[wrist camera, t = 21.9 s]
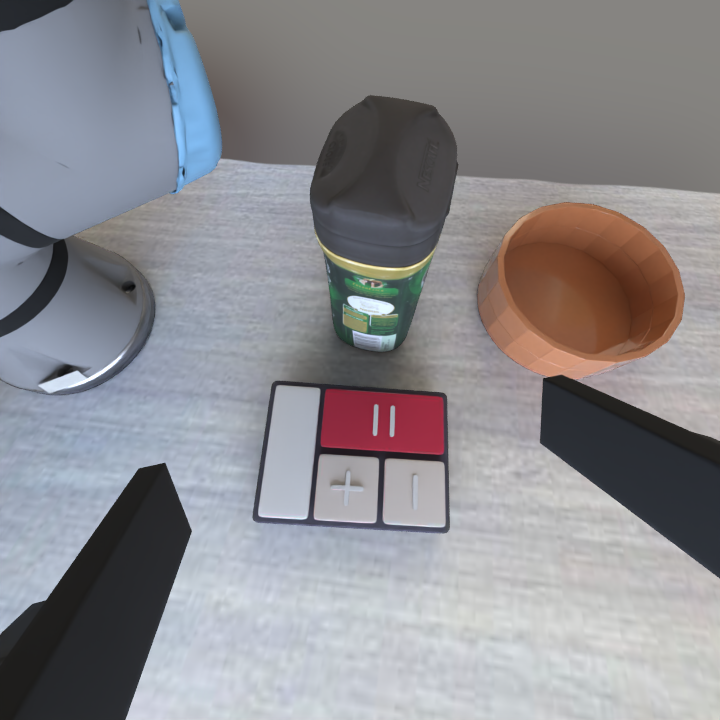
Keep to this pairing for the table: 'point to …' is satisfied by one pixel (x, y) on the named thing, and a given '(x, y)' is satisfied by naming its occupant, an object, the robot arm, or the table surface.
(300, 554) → the table surface
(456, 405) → the table surface
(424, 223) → the coffee jar
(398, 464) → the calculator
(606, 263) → the pot
